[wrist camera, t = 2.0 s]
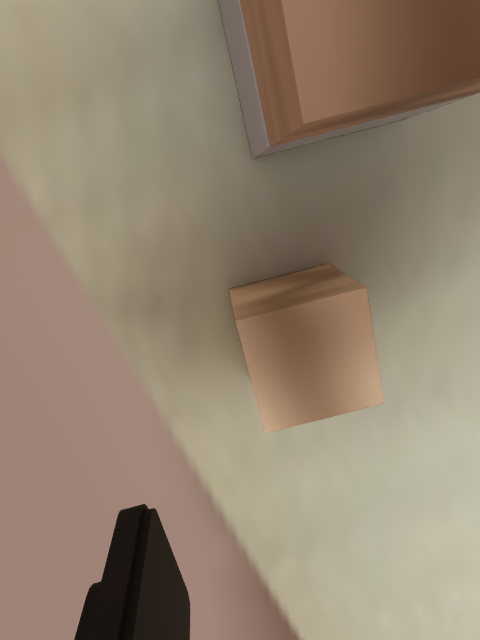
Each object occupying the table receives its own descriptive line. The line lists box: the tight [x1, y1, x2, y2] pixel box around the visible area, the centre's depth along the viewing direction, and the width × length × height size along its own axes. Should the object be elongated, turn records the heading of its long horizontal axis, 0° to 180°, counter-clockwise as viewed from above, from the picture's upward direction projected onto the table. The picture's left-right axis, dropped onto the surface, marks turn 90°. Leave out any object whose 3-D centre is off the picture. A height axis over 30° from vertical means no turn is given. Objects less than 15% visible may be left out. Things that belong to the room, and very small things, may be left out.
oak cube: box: [229, 264, 384, 434], centre depth 18 cm, size 5×5×5 cm
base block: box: [218, 0, 474, 158], centre depth 15 cm, size 7×7×5 cm
